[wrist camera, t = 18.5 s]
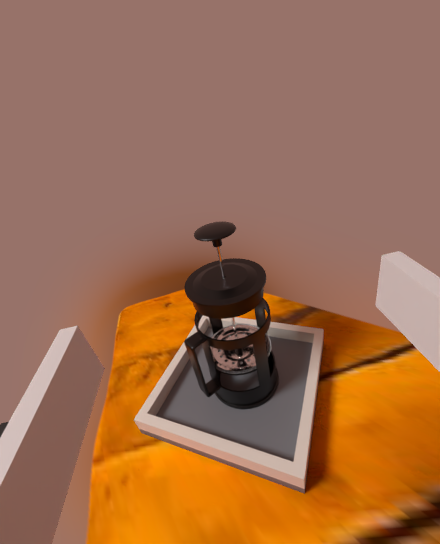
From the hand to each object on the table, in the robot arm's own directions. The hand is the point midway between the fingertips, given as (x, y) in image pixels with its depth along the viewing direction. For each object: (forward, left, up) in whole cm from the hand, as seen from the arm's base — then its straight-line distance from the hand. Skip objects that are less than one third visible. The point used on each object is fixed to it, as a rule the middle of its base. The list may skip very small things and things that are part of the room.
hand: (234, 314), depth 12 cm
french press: (+8, -14, -25) cm, 30 cm away
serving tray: (+8, -14, -26) cm, 31 cm away
